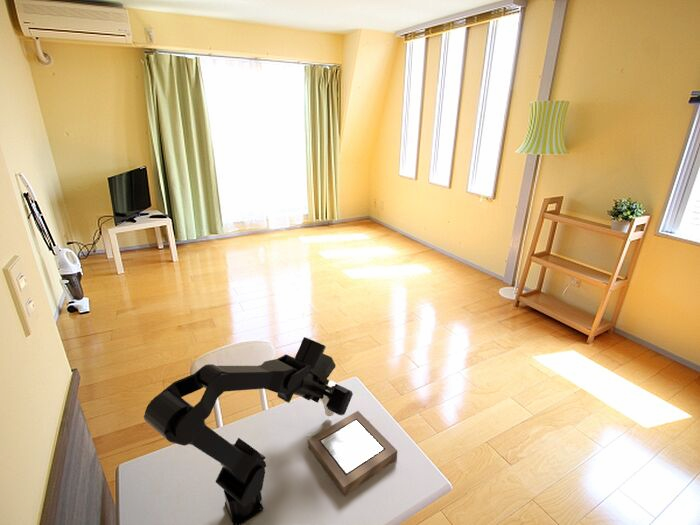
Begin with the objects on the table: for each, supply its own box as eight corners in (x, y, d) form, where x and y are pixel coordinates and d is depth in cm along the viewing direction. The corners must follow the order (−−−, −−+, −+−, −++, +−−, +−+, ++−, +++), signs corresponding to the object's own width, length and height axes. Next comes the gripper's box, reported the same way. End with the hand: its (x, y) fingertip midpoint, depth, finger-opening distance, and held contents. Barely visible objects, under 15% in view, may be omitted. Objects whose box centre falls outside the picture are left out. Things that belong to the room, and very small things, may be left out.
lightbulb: (341, 407, 105) (341, 376, 101) (339, 424, 99) (338, 392, 95) (320, 406, 105) (319, 375, 101) (316, 422, 100) (315, 390, 96)
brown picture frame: (344, 496, 82) (343, 487, 80) (308, 447, 94) (307, 439, 92) (396, 459, 90) (397, 450, 89) (358, 418, 102) (358, 410, 101)
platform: (346, 479, 84) (346, 473, 84) (321, 446, 93) (320, 440, 92) (383, 454, 90) (383, 448, 90) (356, 425, 99) (356, 420, 98)
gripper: (348, 366, 85) (372, 378, 98) (290, 340, 95) (318, 354, 108) (328, 413, 82) (355, 419, 95) (270, 381, 92) (302, 390, 105)
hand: (332, 393), depth 101 cm, fingers closed on lightbulb, 6 cm apart
